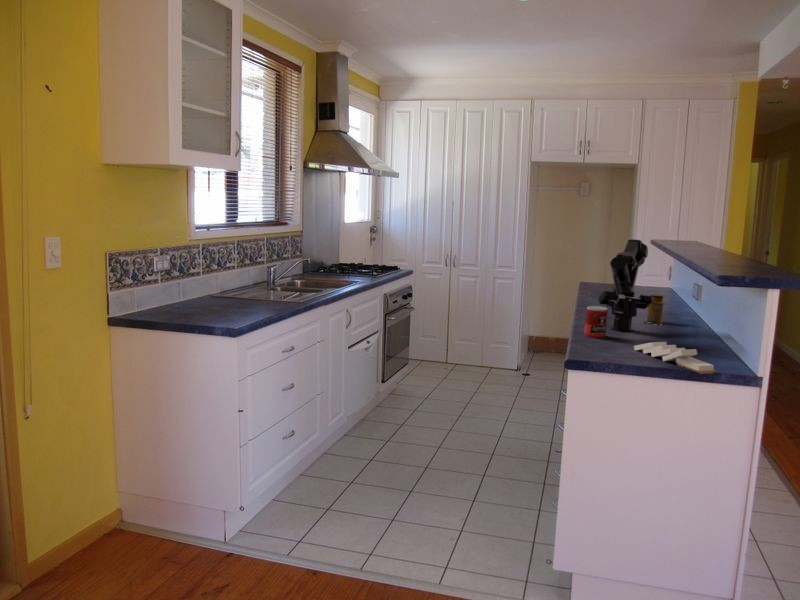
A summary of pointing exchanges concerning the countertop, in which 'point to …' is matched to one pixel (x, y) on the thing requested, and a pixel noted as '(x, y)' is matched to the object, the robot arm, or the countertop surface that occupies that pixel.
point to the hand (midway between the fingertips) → (629, 319)
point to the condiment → (655, 309)
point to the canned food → (596, 321)
